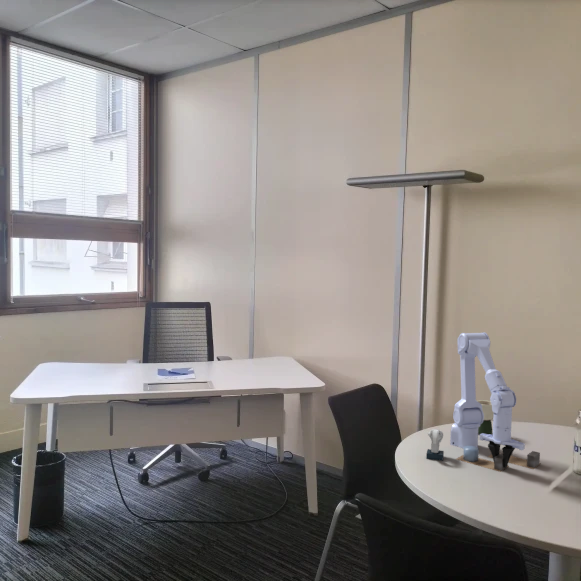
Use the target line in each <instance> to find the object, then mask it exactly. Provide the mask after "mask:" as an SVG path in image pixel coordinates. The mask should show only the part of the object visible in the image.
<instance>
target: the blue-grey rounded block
mask: <svg viewBox="0 0 581 581" xmlns="http://www.w3.org/2000/svg"><path fill="white" fill-rule="evenodd" d="M479 450H480V449H479V447H478V448H477V447H474V446H465V447H464V449H463V454H462V455H463V459H464V460H465V461H468V462H477V461H478V458H480V457H479V452H480V451H479Z"/></svg>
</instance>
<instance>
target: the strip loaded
mask: <svg viewBox="0 0 581 581" xmlns="http://www.w3.org/2000/svg"><path fill="white" fill-rule="evenodd" d="M499 453H500V454H499V455H497V456H496V457H495V459H494V460H493V461H492V460H488V459H485V458H481V457H478V461H477V462H468V461H465V460H464V459H463V454H462V455H460V456H458V457H457V458H455V461H460V462H464V463H466V464H471V465H474V466H478V467H481V468H485V469H489V470H492V471H495V472H499V473H502V472H503V471H504V470H505V469H507V468H509V466H510V465H508V466H507V467H506V468H504V467H503V452H499Z"/></svg>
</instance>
